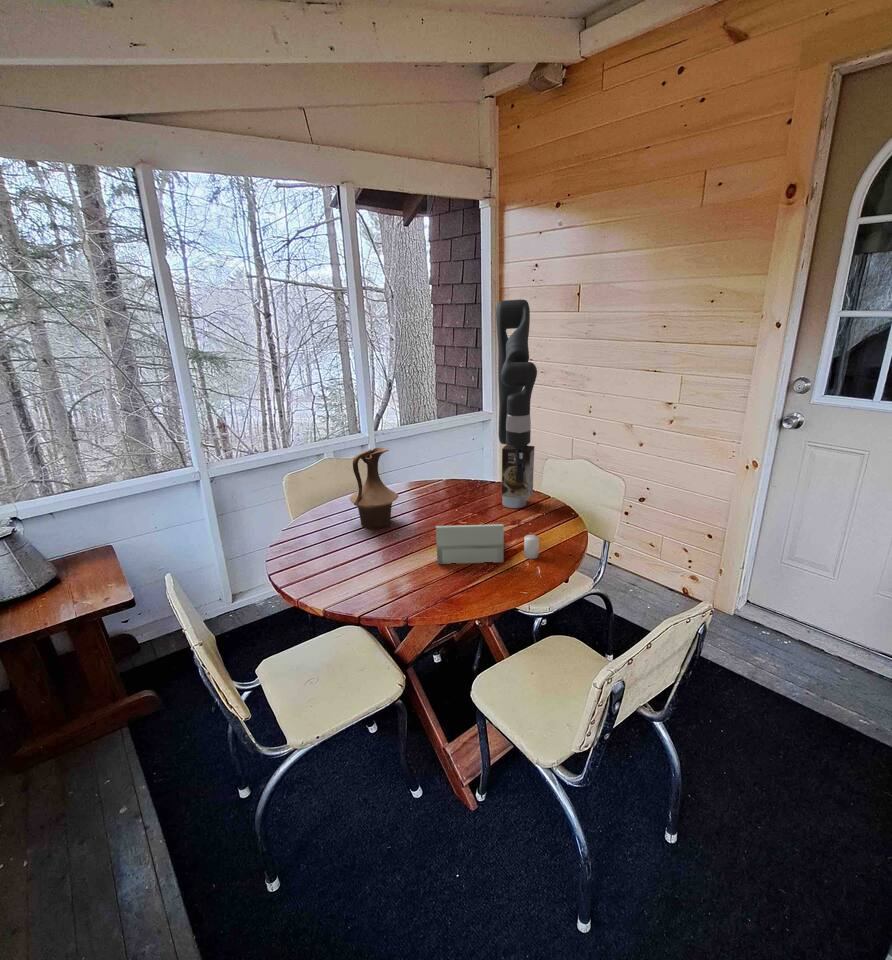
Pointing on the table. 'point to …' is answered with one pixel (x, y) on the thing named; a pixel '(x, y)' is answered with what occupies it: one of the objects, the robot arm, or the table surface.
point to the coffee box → (509, 473)
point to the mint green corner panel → (470, 543)
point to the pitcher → (372, 492)
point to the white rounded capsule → (531, 546)
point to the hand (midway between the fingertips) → (517, 478)
